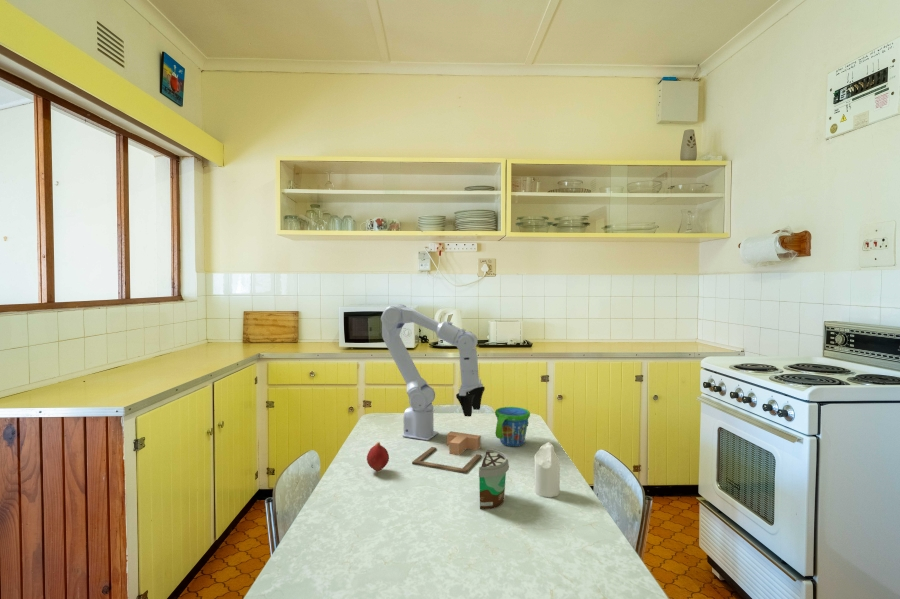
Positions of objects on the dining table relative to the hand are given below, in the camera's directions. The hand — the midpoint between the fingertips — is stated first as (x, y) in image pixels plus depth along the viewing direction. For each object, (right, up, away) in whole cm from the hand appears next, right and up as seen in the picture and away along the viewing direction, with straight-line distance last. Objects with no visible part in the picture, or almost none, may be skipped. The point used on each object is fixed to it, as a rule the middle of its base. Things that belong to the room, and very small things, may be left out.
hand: (472, 412), depth 148 cm
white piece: (+16, -11, -36) cm, 41 cm away
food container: (+3, -11, -40) cm, 42 cm away
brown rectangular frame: (-8, -9, -16) cm, 20 cm away
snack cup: (+12, -9, -3) cm, 16 cm away
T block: (-4, -9, -8) cm, 13 cm away
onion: (-26, -10, -24) cm, 37 cm away
